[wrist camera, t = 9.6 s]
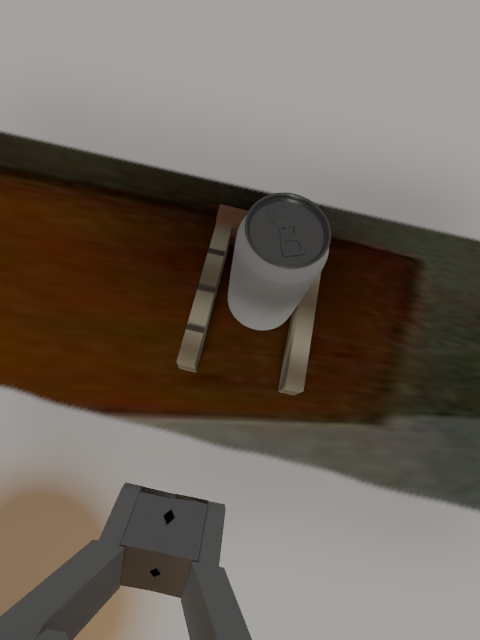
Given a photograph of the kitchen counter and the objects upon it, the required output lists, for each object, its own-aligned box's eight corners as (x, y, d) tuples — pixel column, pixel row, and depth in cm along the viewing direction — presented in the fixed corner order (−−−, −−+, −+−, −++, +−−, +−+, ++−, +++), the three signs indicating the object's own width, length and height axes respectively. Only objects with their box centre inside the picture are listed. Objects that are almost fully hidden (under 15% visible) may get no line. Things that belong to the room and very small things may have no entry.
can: (284, 266, 34) (322, 182, 23) (300, 326, 32) (350, 267, 21) (221, 275, 33) (229, 192, 22) (233, 337, 31) (249, 281, 20)
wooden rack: (294, 395, 30) (306, 389, 26) (179, 368, 30) (175, 358, 26) (316, 252, 35) (329, 230, 31) (218, 229, 35) (220, 204, 31)
